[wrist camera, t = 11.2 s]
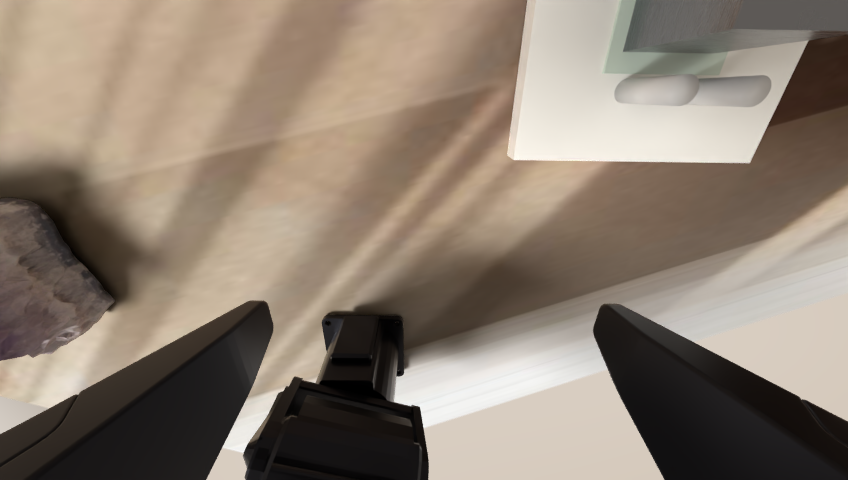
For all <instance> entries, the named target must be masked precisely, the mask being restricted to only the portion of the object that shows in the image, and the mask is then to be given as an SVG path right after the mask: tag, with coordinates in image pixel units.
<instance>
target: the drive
mask: <svg viewBox="0 0 848 480" xmlns="http://www.w3.org/2000/svg"><path fill="white" fill-rule="evenodd" d="M844 35H848V0H636V2H635V6H634V10H633V14H632V18H631V22H630V26H629V30H628V34H627V37H626V41H625V45H624V49H623V52H655V53H721V52H728V51H735V50H742V49H750V48H757V47H764V46H771V45H779V44H786V43H793V42H800V41H808V40H815V39H822V38H829V37H837V36H844Z"/></svg>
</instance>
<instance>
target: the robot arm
mask: <svg viewBox="0 0 848 480" xmlns="http://www.w3.org/2000/svg"><path fill="white" fill-rule="evenodd" d="M327 321H330V322H327ZM396 321H397V322H399V323H395V322H396ZM322 327H323V333H324V339H325V345H326V350H327V354H326V357H325V359H324V362H323V365H322V367H321V370H320V373H319V376H318V378H317V381H316V383H312V382H308V381H304V380H302V379H303V378H298V377H294V378H293V380H292V382H291V384H290V386H289V387H288V386H286V388H285V390H284V391H283V392H280V393H278V395H277V397H276V400H275V402H274V404H273V406H272V408H271V410H270V412H269V414H268V416H267V417H266V419H265V420H264V422H263V423H262V425H261V426H260V427H259V429H258V430H257V432H256V433H255V435H254V436H253V437H252V439H251V440H250V442H249V443H248V445H247V447H246V449H245V451H244V455H243V457H244V460H245V463H246V466H247V471H246V475H245V479H246V480H428V473H429V470H428V469H429V463H428V453H427V447H426V441H425V435H424V429H423V423H422V417H421V411H420V407H418V406H414V405H412V406H408V405H403V404H399V403H395V402H394V395H395V384H396V376H402V375H403V374H404V330H403V318H402V317H400V316H371V315H326V316H325V317H324V318H323V320H322ZM272 333H273V322H272V318H271V314H270V310H269V307H268V304H267V302H265V301H248V302H246V303H244V304H242V305H240V306H238V307H237V308H235V309H233V310H231V311H229V312H227V313H226V314H224V315H222V316H220V317H218V318H216V319H214V320H213V321H211V322H209V323H207V324H205V325H203V326H201V327H200V328H198V329H196V330H194V331H192V332H190V333H188V334H187V335H185V336H183V337H181V338H179V339H177V340H175V341H174V342H172V343H170V344H168V345H166V346H164V347H163V348H161V349H159V350H157V351H155V352H153V353H151V354H150V355H148V356H146V357H144V358H142V359H140V360H138V361H137V362H135V363H133V364H131V365H129V366H127V367H125V368H124V369H122V370H120V371H118V372H116V373H114V374H113V375H111V376H109V377H107V378H105V379H103V380H101V381H100V382H98V383H96V384H94V385H92V386H90V387H88V388H87V389H85V390H83V391H81V392H80V393H79V395H73V396H72V397H70V398H68V399H66V400H64V401H62V402H60V403H59V404H57V405H55V406H53V407H51V408H49V409H48V410H46V411H44V412H42V413H40V414H38V415H36V416H34V417H32V418H30V419H29V420H27V421H25V422H23V423H21V424H19V425H17V426H15V427H13V428H11V429H10V430H8V431H6V432H4V433H2V434H0V480H206V479H207V477H208V475H209V473H210V471H211V469H212V467H213V465H214V463H215V461H216V459H217V457H218V455H219V453H220V450H221V449H222V447H223V445H224V443H225V441H226V439H227V437H228V435H229V433H230V431H231V429H232V427H233V425H234V423H235V421H236V419H237V417H238V415H239V413H240V411H241V409H242V407H243V405H244V403H245V401H246V399H247V397H248V395H249V392H250V390H251V388H252V386H253V383H254V381H255V379H256V376H257V373H258V371H259V368H260V365H261V363H262V360H263V357H264V355H265V352H266V349H267V347H268V344H269V341H270V339H271V336H272ZM593 333H594V337H595V339H596V342H597V344H598V347H599V349H600V351H601V354H602V356H603V359H604V361H605V363H606V366H607V368H608V371H609V373H610V376H611V378H612V380H613V383H614V385H615V387H616V389H617V391H618V393H619V395H620V397H621V399H622V401H623V403H624V405H625V407H626V409H627V410H628V412H629V414H630V416H631V418H632V420H633V422H634V424H635V425H636V427H637V429H638V431H639V433H640V435H641V437H642V438H643V440H644V442H645V444H646V446H647V448H648V449H649V452H650V453H651V455H652V457H653V459H654V461H655V463H656V464H657V466H658V468H659V470H660V472H661V474H662V476H663V478H664V480H848V421H846V420H844V419H842V418H840V417H838V416H836V415H834V414H832V413H830V412H828V411H826V410H824V409H822V408H820V407H818V406H816V405H814V404H812V403H810V402H809V401H807V400H801V399H800V397H798V396H797V395H795V394H793V393H791V392H789V391H787V390H785V389H783V388H781V387H779V386H777V385H775V384H773V383H772V382H769V381H768V380H766V379H764V378H762V377H760V376H758V375H756V374H754V373H752V372H750V371H748V370H746V369H744V368H742V367H740V366H738V365H737V364H735V363H733V362H731V361H729V360H727V359H725V358H723V357H721V356H719V355H717V354H715V353H713V352H711V351H709V350H707V349H705V348H704V347H702V346H700V345H698V344H696V343H694V342H692V341H690V340H688V339H686V338H684V337H682V336H680V335H678V334H676V333H674V332H672V331H671V330H669V329H667V328H665V327H663V326H661V325H659V324H657V323H655V322H653V321H651V320H649V319H647V318H645V317H643V316H641V315H639V314H638V313H636V312H634V311H632V310H630V309H628V308H626V307H624V306H622V305H620V304H603V305H602V306H601V307H600V309H599V312H598V315H597V318H596V321H595V324H594V328H593ZM398 370H399V371H398Z"/></svg>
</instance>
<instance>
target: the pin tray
mask: <svg viewBox="0 0 848 480" xmlns="http://www.w3.org/2000/svg"><path fill="white" fill-rule="evenodd" d="M635 2H636V0H527V7H526V15H525V22H524V30H523V38H522V45H521V53H520V61H519V68H518V76H517V83H516V91H515V99H514V106H513V114H512V122H511V129H510V137H509V144H508V152H507V155H508V156H509V157H510V158H512V159H513V160H560V161H632V162H705V163H750V161H751V159H752V157H753V155H754V153H755V151H756V149H757V147H758V145H759V143H760V141H761V138H762V136H763V134H764V132H765V130H766V128H767V126H768V124H769V122H770V120H771V118H772V116H773V113H774V111H775V109H776V107H777V105H778V103H779V101H780V99H781V97H782V95H783V93H784V90H785V88H786V86H787V84H788V82H789V80H790V78H791V76H792V74H793V72H794V70H795V68H796V65H797V63H798V61H799V59H800V57H801V55H802V53H803V51H804V49H805V47H806V45H807V43H808V41H800V42H793V43H786V44H779V45H771V46H764V47H757V48H750V49H742V50H735V51H728V52H721V53H655V52H623V49H624V45H625V41H626V37H627V34H628V30H629V26H630V22H631V18H632V14H633V10H634V6H635Z"/></svg>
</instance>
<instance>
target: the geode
mask: <svg viewBox="0 0 848 480" xmlns="http://www.w3.org/2000/svg"><path fill="white" fill-rule="evenodd" d="M114 302H115V300H114V299H113V298H112V296H111V295H110V294H109V293H107V292H106V291H105V290H104V289H103V287H102V285H101V283H100V282H99V281H98V280H97V279H96V278H95V276H94V275H93V274H92V273H90V272H89V270H88V269H87V268H86V267H85V266H84V265H83V264H82V263H81V262H80V261H79V260H78V259H77V258H76V257H75V256H74V255H73V254H72V252H71V249H70V247H69V246H68V245H67V244H66V243H65V242H64V241H63V239H62V237H61V235H60V233H59V231H58V229H57V227H56V225H55V223H54V221H53V220H52V219H51V218H50V217H49V216H48V215H47V213H46V212H45V211H44V210H43V209H42V208H41V207H40V206H39V205H37V204H36V203H34V202H32V201H29V200H23V199H18V198H12V197H11V198H0V361H1V360H7V359H12V358H17V357H22V356H25V355H27V354H28V355H30V356H31V357H35V356H37V355H39V354H52V353H53V352H54V351H55V350H57V349H58V348H59V347H60V346H63V345H66V344H68V343H69V342H70V341H72V340H74V339H76V338H77V337H79V336H81V335H82V334H84V333H85V332H86V331H88V330H89V329H90V328H91V327H92V326H93V324H95V323H97V322H98V321H99V320H100V318H101V317H102V315H103V314H104V313H105V311H106V310H107V309H108V308H109V307H110V306H111V305H112V304H113V303H114Z"/></svg>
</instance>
